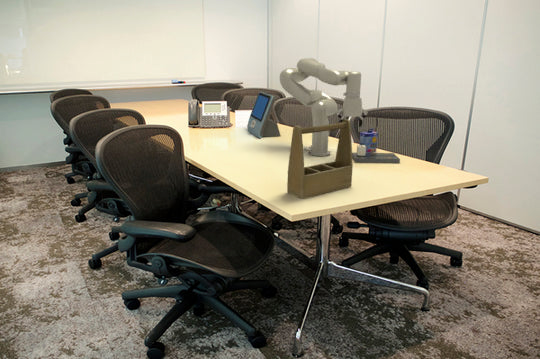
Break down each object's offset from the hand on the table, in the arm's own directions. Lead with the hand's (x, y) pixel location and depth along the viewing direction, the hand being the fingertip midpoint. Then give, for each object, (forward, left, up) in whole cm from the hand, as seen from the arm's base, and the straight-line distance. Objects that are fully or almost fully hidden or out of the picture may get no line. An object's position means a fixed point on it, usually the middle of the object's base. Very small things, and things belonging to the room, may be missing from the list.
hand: (351, 126), depth 229 cm
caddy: (-22, -54, -19) cm, 61 cm away
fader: (+6, 0, -16) cm, 17 cm away
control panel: (+14, 0, -19) cm, 24 cm away
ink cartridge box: (+14, +20, -19) cm, 31 cm away
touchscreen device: (-51, +75, -19) cm, 93 cm away
